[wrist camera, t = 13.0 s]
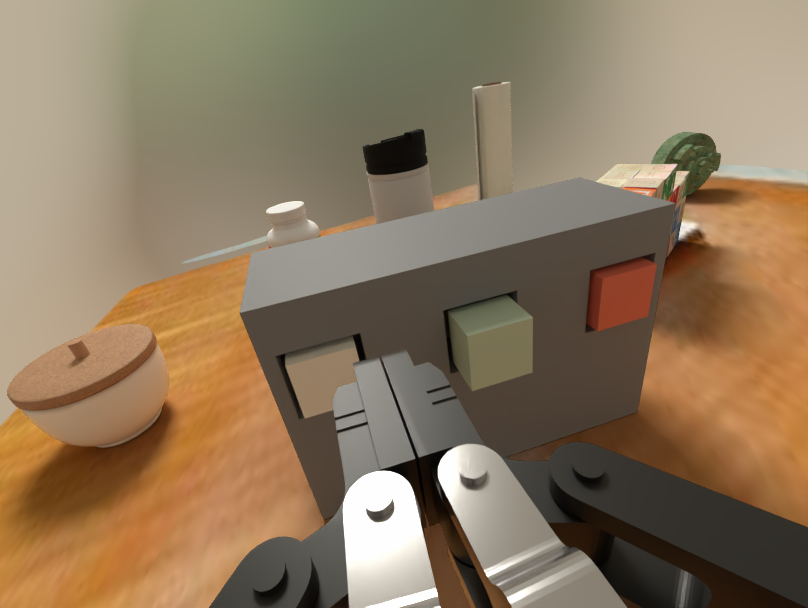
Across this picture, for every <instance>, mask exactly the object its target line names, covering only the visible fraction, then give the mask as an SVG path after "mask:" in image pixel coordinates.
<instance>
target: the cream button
mask: <svg viewBox="0 0 808 608" xmlns="http://www.w3.org/2000/svg"><path fill="white" fill-rule="evenodd" d="M356 362H359V358H358V354H357V350H356V346H355V343H354V339H353V336H352V335H351V336H348V337H344V338H340V339H336V340H333V341H329V342H325V343H322V344H318V345H314V346H311V347H307V348H303V349H300V350H296V351H292V352H289V353H285V367H286V369H287V372H288V375H289V377H290V380H291V383H292V386H293V388H294V391H295V394H296V396H297V399H298V402H299V404H300V407H301V410H302V413H303V415H304V418H308V417H312V416H315V415H318V414H322V413H325V412H328V411H332V410H333V404H332V402H333V399H334V396H335V393H336V391H337V388H338V387H340V386H343V385H347V384H351V383H354V382H357V380H356V375H355V371H354V367H353V363H356Z"/></svg>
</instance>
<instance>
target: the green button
mask: <svg viewBox="0 0 808 608" xmlns="http://www.w3.org/2000/svg"><path fill="white" fill-rule="evenodd" d="M448 320H449V329H450V338H451V347H452V356H453V362H454V364H455V366H456V367H457V369H458V370H459V372H460V373H461V375H462V376H463V378H464V379H465V381H466V383H467V384H468V386H469V387H470V389H471V390H472V391H475V390H478V389H481V388H484V387H488V386H491V385H494V384H497V383H500V382H504V381H507V380H510V379H513V378H517V377H520V376H523V375H526V374H529V373H532V371H533V317H532V316H531V315H529V314H528V313H527V312H526V311H525V310H524V309H523V308H521V307H520V306H519V305H518V304H517V303H516V302H515V301H513V300H512V299H511V298H510V297H509V296H508V295H503V296H500V297H496V298H492V299H489V300H485V301H481V302H478V303H474V304H470V305H467V306H463V307H459V308H456V309H452V310H448Z"/></svg>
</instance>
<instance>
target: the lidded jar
mask: <svg viewBox="0 0 808 608" xmlns="http://www.w3.org/2000/svg"><path fill="white" fill-rule="evenodd" d="M168 390H169V373H168V368H167V364H166V361H165V358H164V356H163V354H162V351H161V349H160V347H159V346H158V344H157V341H156V337H155V335H154V333H153V332H152V330H151V329H150V328H148V327H146V326H143V325H138V324H126V325H118V326H113V327H108V328H104V329H100V330H97V331H94V332H91V333H88V334H85V335H82V336H80V337H78V338H75V339H73V340H70V341H68V342H66V343H64V344H62V345H60V346H58V347H56V348H54V349H52V350H50V351H49V352H47V353H45V354H43V355H42V356H40V357H39V358H37V359H36V360H34V361H33V362H32V363H30V364H29V365H27V366H26V367H25V368H24V369H23V370H22V371H20V372H19V373H18V374H17V375H16V376H15V378H14V379H13V380H12V382H11V383H10V385H9V387H8V391H7V392H8V397H9V399H10V400H11V401H12V403H13V404H14V405H15V406H16V407H18V408H19V409H21V410H22V411H23V413H24V414H25V415H26V416H27V417H28V418H29V419H30V420H31V421H32V423H33V424H35V425H36V426H37V427H38V428H39V429H41V430H42V431H43V432H45V433H46V434H48V435H49V436H51V437H53V438H54V439H56V440H58V441H61V442H63V443H67V444H70V445H75V446H95V447H99V448H108V447H113V446H117V445H120V444H123V443H125V442H127V441H129V440H132V439H133V438H135V437H137V436H139V435H140V434H142V433H143V432H144V431H146V430H147V429H148V428H149V427H150V426H152V425H153V424H154V422H155V421H156V420H157V419H158V418H159V416H160V414H161V412H162V406H163V404H164V402H165V400H166V397H167V395H168Z"/></svg>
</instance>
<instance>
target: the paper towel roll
mask: <svg viewBox="0 0 808 608" xmlns="http://www.w3.org/2000/svg"><path fill="white" fill-rule="evenodd" d="M472 94H473V112H474V128H475V145H476V162H477V179H478V196H479V201H480V200H484V199H488V198H493V197H497V196H501V195H506V194H510V193H513V192H512V139H511V136H512V135H511V83H510V82H504V83H502V82H495V83H489V84H484V85H482V86H479V87H475V88H473V89H472Z"/></svg>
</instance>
